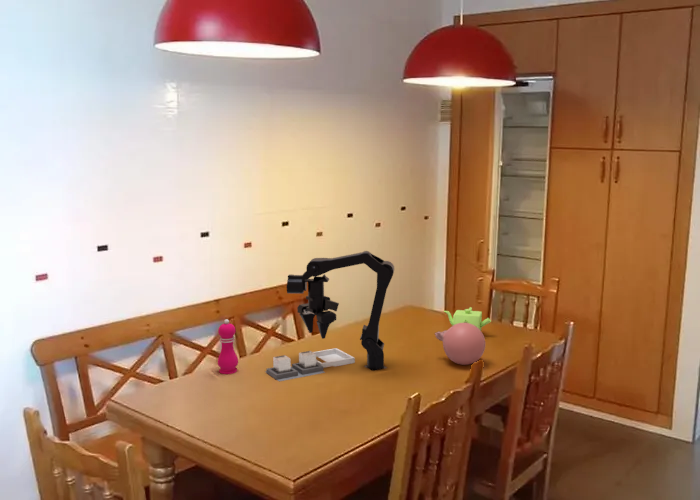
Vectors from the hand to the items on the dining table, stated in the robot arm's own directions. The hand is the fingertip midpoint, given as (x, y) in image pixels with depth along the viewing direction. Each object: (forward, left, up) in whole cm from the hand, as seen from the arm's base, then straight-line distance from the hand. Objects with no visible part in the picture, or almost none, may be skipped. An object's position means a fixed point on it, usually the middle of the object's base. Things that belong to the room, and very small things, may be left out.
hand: (317, 335), depth 268 cm
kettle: (+4, -73, -12) cm, 74 cm away
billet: (-4, +16, -11) cm, 20 cm away
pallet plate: (-4, +11, -12) cm, 16 cm away
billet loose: (-4, +6, -11) cm, 13 cm away
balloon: (-23, -47, -12) cm, 54 cm away
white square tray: (+2, -6, -12) cm, 13 cm away
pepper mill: (+9, +31, -12) cm, 34 cm away
